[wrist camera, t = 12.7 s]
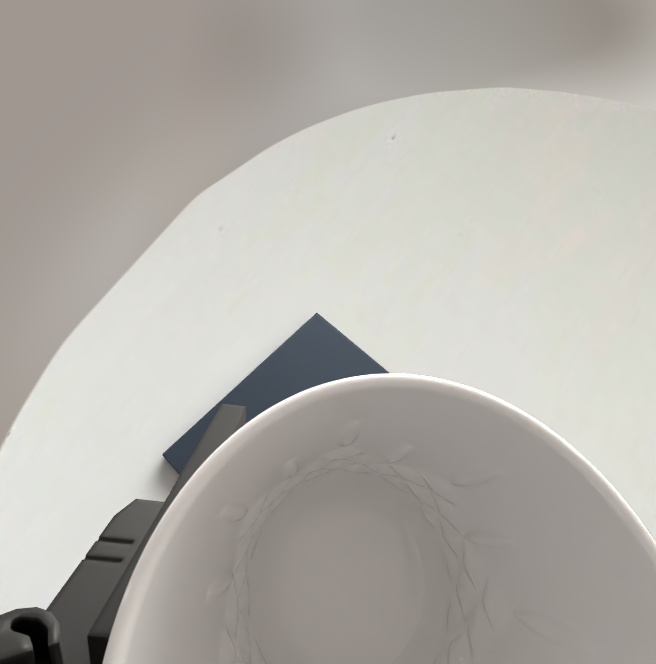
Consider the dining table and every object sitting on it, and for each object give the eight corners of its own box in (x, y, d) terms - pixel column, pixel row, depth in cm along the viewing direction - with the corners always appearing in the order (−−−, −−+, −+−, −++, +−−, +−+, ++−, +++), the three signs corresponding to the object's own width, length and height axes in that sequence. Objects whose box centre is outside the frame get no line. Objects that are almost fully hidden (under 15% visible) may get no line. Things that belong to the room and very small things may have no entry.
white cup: (210, 498, 14) (59, 471, 5) (391, 428, 16) (510, 319, 7) (268, 765, 11) (138, 1857, 2) (485, 642, 13) (928, 947, 4)
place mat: (164, 455, 26) (161, 454, 25) (316, 315, 32) (316, 311, 31) (410, 732, 20) (413, 739, 20) (537, 500, 26) (543, 499, 26)
